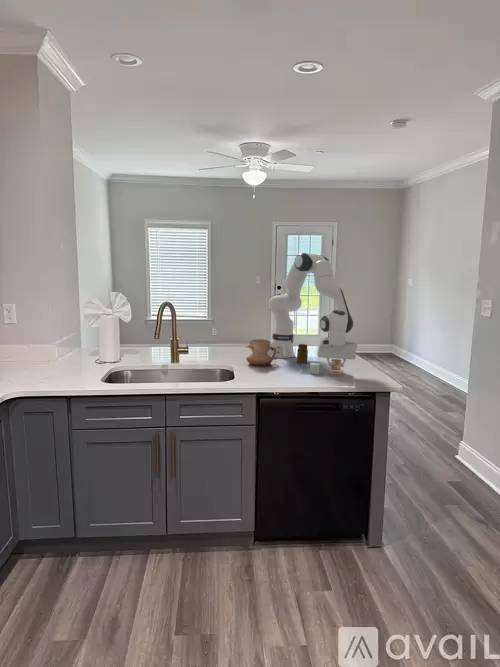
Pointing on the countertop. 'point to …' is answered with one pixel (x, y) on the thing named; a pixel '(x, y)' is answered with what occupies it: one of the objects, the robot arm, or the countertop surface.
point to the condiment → (302, 354)
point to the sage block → (314, 368)
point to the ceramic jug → (260, 352)
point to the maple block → (336, 364)
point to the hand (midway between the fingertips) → (335, 366)
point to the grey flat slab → (324, 372)
